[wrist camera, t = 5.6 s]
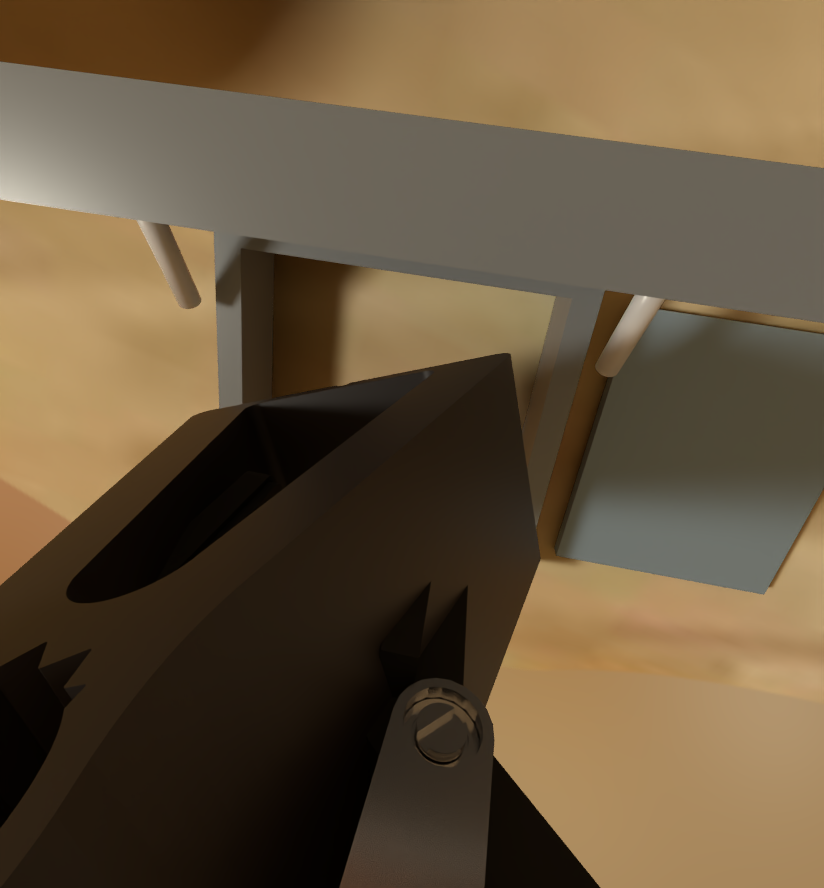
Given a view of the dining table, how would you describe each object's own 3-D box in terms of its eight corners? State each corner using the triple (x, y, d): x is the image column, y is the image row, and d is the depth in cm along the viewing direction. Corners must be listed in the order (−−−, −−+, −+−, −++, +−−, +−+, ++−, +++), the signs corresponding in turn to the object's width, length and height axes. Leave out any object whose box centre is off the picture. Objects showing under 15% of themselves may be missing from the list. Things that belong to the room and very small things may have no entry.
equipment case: (619, 253, 17) (1201, 205, 4) (529, 560, 23) (618, 1002, 9) (228, 197, 18) (-514, -15, 5) (234, 505, 24) (-87, 828, 10)
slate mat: (889, 344, 17) (903, 346, 17) (756, 586, 22) (764, 594, 21) (630, 304, 18) (635, 306, 17) (554, 548, 23) (556, 555, 22)
